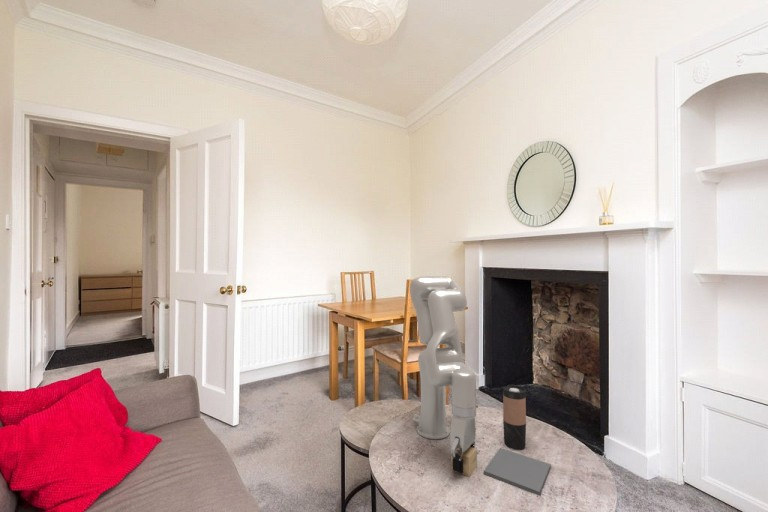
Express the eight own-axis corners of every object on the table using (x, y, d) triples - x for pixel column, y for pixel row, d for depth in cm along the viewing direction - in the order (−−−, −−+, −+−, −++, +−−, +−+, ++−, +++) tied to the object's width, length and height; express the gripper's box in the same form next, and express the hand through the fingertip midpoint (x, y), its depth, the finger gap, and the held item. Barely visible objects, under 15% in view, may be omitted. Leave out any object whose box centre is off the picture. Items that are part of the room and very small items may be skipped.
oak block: (451, 470, 105) (451, 450, 105) (459, 461, 110) (459, 442, 110) (469, 477, 102) (469, 457, 102) (476, 467, 107) (476, 448, 107)
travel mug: (528, 451, 115) (527, 393, 116) (505, 449, 117) (504, 391, 117) (523, 440, 123) (523, 385, 123) (501, 438, 124) (501, 383, 125)
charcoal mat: (483, 474, 103) (483, 470, 103) (500, 450, 116) (500, 447, 116) (539, 495, 94) (539, 491, 94) (550, 467, 107) (550, 464, 107)
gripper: (463, 397, 116) (463, 448, 115) (440, 416, 102) (440, 473, 101) (485, 403, 111) (485, 455, 111) (464, 423, 97) (464, 483, 97)
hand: (464, 464), depth 106 cm, fingers open, 8 cm apart
